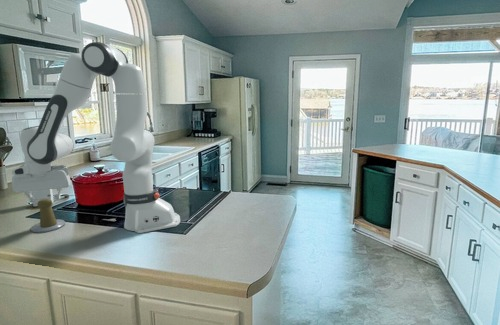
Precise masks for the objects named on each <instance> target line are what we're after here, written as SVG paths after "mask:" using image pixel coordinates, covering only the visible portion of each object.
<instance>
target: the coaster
mask: <svg viewBox="0 0 500 325" xmlns="http://www.w3.org/2000/svg"><path fill="white" fill-rule="evenodd" d="M56 221H57V224H56V225H54V226H52V227H47V228H41V227H40V222H38V223H35V224H33V225H32V226H31V227H30V231H31V232H32V233H34V234H35V233H36V234H39V233H40V234H41V233H42V234H43V232H44V233H49V232H53V231H56V230H59V229H61V228H63V227H64V226H65V225H66V221H65V220H63V219H59V218H57V219H56Z"/></svg>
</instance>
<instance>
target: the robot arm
mask: <svg viewBox="0 0 500 325" xmlns="http://www.w3.org/2000/svg"><path fill="white" fill-rule="evenodd" d="M100 75H101V76H104V77H107V78H108V77H110V78H111V79H112V81H113V83H114V91H115V92H114V93H115V107H116V108H115V109H116V118H115V119H116V121H115V127H114V132H113V133H114V134H113V138H112V141H111V142H110V146H109V147H110V153H111V155H112V156H113V157H114V159H116V160H118V161H120V162H124V169H123V171H122V179H123V180H122V181H123V190H124V192H123V203H124V207H125V217H124V219H125V220H124V224H123V228H124V229H125V230H126V231H132V232H135V233H137V234H142V233H148V232H152V231H158V230H164V229H170V228H174V227H177V226H178V225H180V223H181V216H180V214H178V213H177V212H175V210H174V208H173V206H172V204H171V203H170V202H168V201H166V200H164V199H162V198H160V193H159V190H158V189H154V185H153V170H152V169H153V158H154V157H153V156H154V146H155V141H156V140H155V137H154V134H153V133H152V131H151V132H150V131H149V130H147V129H145V123H146V120H147V117H148V106H147V105H148V104H147V103H148V102H147V88H146V83H145V82H146V81H145V76H144V73H143V69H141V67H140V66H138V64H137V65H136V64H134V63H129V60H128V56H127V55H126V54H125V53H124V52H123V51H122V50H121V49H120V48H116V47H115V46H113V45H111V44H108V43H103V42H100V41H94V42H90V43H88V44H86V45H85V46H84V47H83V49H82V50H81V53H71V54H70V55H68V57H67V59H66V61H65V63H64V65H63V66H62V69H61V73H60V75H59V77H58V82H57V85H56V87H55V90H54V91H53V94H52V96H51V98H50V99H49V102H48V103H47V105H46V107H45V110H44V112H43V114H42V117H41V120H40V122H39V125H35V126H30V127H26V128H24V129H22V130H21V131H20V136H19V138H20V147H21V151H22V153H23V155H24V160H23V161H24V164H22V165H20V166H19V167H16V168H14V169H12V170H11V174H12V177H11V187H12V191H13V192H14V193H15V194H19V193H24V196H26V198H28V200H29V203H33V202H34V201H35V197H32V191H39V190H48V189H52V190H56V192H57V193H56V194H55V195H54V197H55V200H60V199H61V194H62V191H63V189H65V188H66V189H67V188H69V187H70V185H71V184H72V182H71V181H72V180H71V177H70V170H69V167H68V166H66V165H64V164H61V165H53V163H52V162H54V161H56V160H59V159H62V158H65V157H67V156H69V155H70V154H71V153H72V152H73V151H74V142H73V139H72V138H71V137H70V136H69V135H68V134H65V133H61V132H60V129H61V127H62V125H63V121H64V120H65V118H66V117H67V116H68V115H70V113H72V112H73V111H75V110H76V109H78V108H80V107H82V106H84V105H85V104H86V102H87V101H88V99H89V97H90V94H91V92H92V88H93V85H94V82H95V79H96V77H98V76H100ZM59 132H60V133H59Z"/></svg>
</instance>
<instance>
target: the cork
mask: <svg viewBox="0 0 500 325" xmlns="http://www.w3.org/2000/svg"><path fill="white" fill-rule="evenodd" d="M37 205H38V206H37V207H38V209H39V223H40V227H41V228H47V227H52V226H54V225H56V224H57V221H56V216H55V213H54V210H53V208H52V206H53V203H52V200H51V199H42V200H40V201H38V204H37Z"/></svg>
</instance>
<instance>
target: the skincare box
mask: <svg viewBox="0 0 500 325" xmlns="http://www.w3.org/2000/svg"><path fill="white" fill-rule="evenodd" d="M31 196H32V197H35V201H34V202H32V206H33V207H38V205H37V204H38V201H40V200H42V199H51V200H52V204H53V203H54V194H53V189H48V190H39V191H31Z"/></svg>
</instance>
